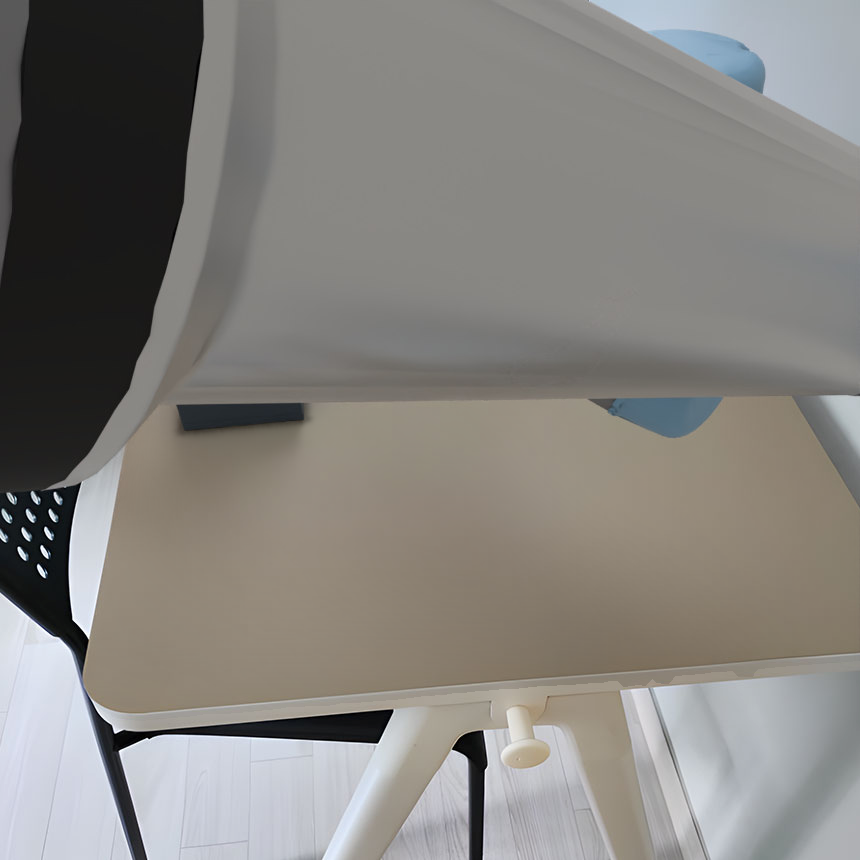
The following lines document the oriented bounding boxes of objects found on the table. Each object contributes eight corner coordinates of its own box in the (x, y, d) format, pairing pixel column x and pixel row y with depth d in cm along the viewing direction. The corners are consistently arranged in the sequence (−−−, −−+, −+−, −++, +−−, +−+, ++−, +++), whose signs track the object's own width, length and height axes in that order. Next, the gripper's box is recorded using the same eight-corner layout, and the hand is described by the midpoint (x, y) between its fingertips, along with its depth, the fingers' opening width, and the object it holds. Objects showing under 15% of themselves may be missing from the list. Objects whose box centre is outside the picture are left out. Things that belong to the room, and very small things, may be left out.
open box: (304, 419, 80) (298, 385, 77) (184, 430, 79) (173, 397, 76) (302, 335, 90) (297, 302, 87) (195, 344, 89) (186, 311, 86)
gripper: (345, 424, 47) (137, 283, 58) (599, 248, 60) (391, 159, 71) (333, 316, 42) (106, 183, 52) (613, 149, 55) (386, 69, 65)
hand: (269, 169), depth 61 cm, fingers open, 13 cm apart
